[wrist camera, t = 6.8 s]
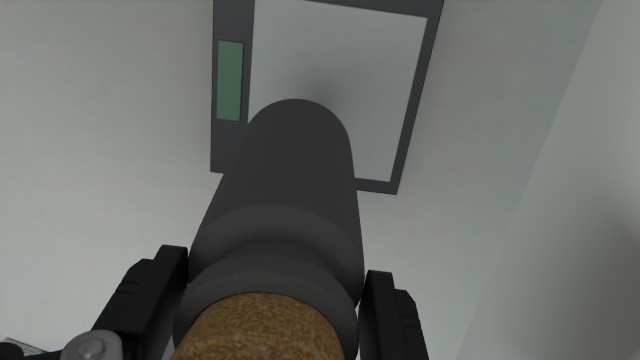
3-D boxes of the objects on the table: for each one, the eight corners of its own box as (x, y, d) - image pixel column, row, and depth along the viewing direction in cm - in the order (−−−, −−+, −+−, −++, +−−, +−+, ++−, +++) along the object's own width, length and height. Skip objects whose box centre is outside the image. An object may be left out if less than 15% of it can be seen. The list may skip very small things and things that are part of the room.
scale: (220, -39, 32) (211, -38, 29) (438, -7, 33) (447, -3, 30) (216, 161, 39) (208, 175, 37) (393, 183, 40) (397, 199, 37)
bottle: (371, 166, 24) (423, 437, 11) (282, 213, 25) (231, 502, 12) (313, 74, 22) (289, 274, 8) (219, 133, 23) (73, 380, 10)
